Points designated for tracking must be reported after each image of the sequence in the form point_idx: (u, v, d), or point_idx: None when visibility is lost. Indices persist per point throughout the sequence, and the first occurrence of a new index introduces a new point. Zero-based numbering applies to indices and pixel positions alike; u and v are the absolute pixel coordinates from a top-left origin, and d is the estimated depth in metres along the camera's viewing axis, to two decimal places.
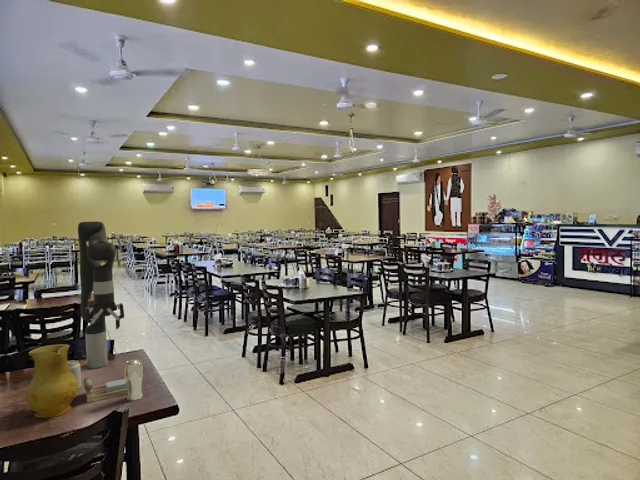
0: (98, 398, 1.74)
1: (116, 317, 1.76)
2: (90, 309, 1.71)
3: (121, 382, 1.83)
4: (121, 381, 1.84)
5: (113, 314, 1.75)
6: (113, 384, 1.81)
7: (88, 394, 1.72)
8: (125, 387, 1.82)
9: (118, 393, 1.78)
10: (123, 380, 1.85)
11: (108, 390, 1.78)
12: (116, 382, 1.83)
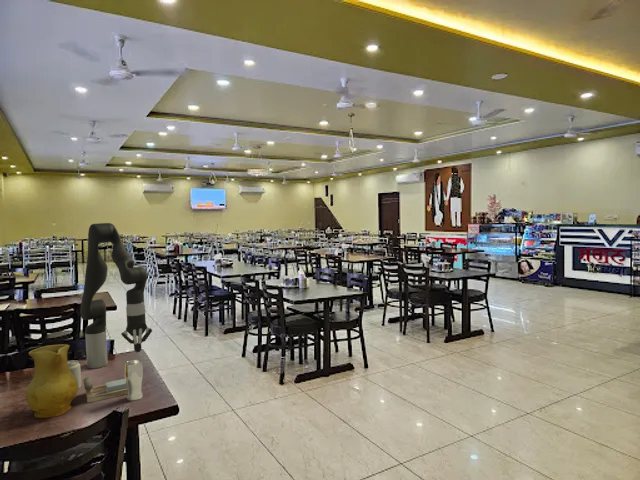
0: (98, 398, 1.74)
1: (139, 340, 1.85)
2: (125, 332, 1.83)
3: (121, 382, 1.83)
4: (121, 381, 1.84)
5: (140, 336, 1.85)
6: (113, 384, 1.81)
7: (88, 394, 1.72)
8: (125, 387, 1.82)
9: (118, 393, 1.78)
10: (123, 380, 1.85)
11: (108, 390, 1.78)
12: (116, 382, 1.83)
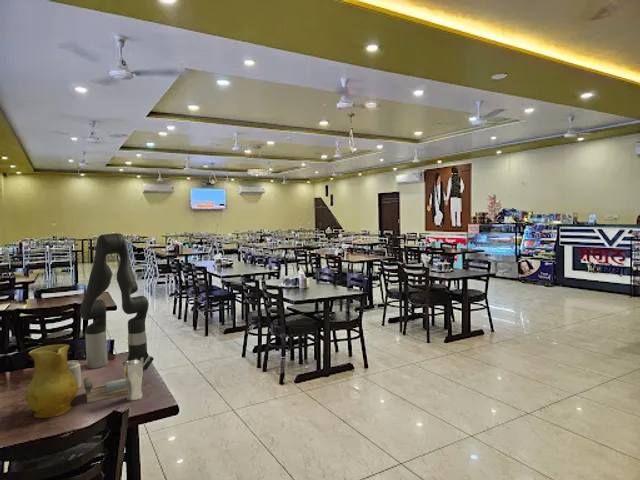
0: (98, 398, 1.74)
1: None
2: None
3: (121, 382, 1.83)
4: (121, 381, 1.84)
5: None
6: (113, 384, 1.81)
7: (88, 394, 1.72)
8: (125, 387, 1.82)
9: (118, 393, 1.78)
10: (123, 380, 1.85)
11: (109, 390, 1.78)
12: (116, 382, 1.83)
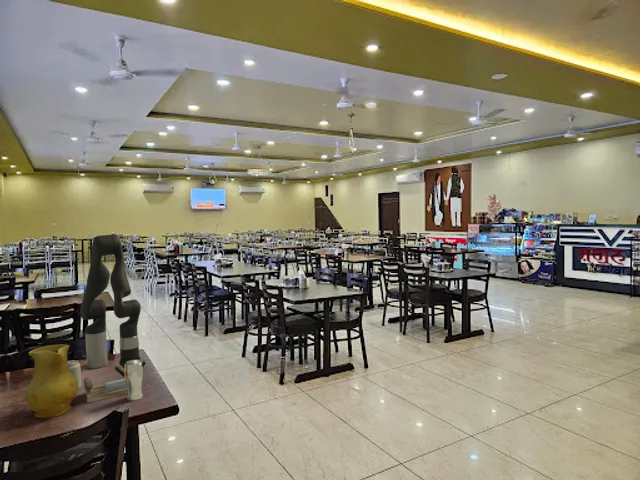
0: (98, 398, 1.74)
1: None
2: (118, 366, 1.82)
3: (120, 382, 1.83)
4: (121, 381, 1.84)
5: None
6: (112, 384, 1.81)
7: (88, 394, 1.72)
8: (125, 387, 1.82)
9: (118, 393, 1.78)
10: (122, 380, 1.85)
11: (108, 390, 1.78)
12: (116, 382, 1.83)
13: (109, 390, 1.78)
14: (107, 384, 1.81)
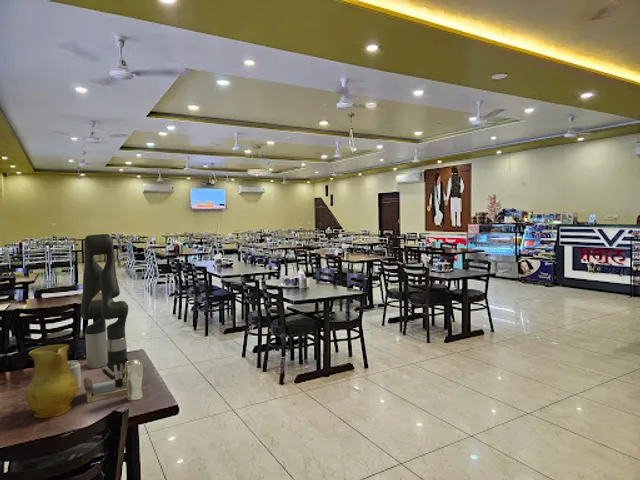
0: (98, 398, 1.74)
1: (121, 375, 1.82)
2: (106, 368, 1.79)
3: (107, 384, 1.81)
4: (109, 383, 1.82)
5: (121, 371, 1.82)
6: (100, 386, 1.79)
7: (88, 394, 1.72)
8: (111, 389, 1.80)
9: (118, 393, 1.78)
10: (111, 382, 1.83)
11: (94, 392, 1.77)
12: (103, 384, 1.81)
13: (95, 392, 1.77)
14: (95, 385, 1.80)
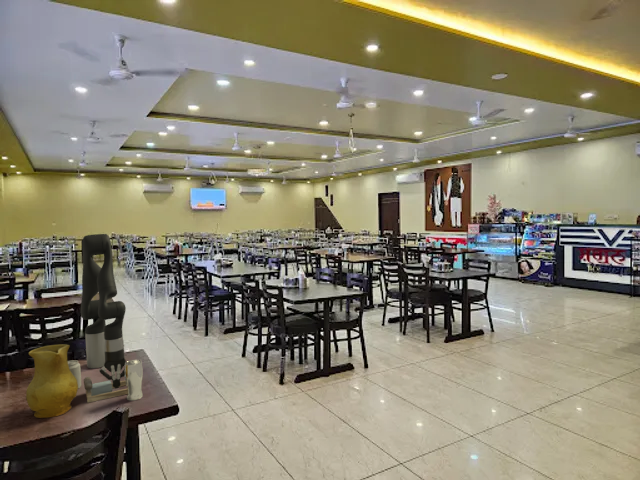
0: (98, 398, 1.74)
1: (118, 376, 1.81)
2: (103, 369, 1.79)
3: (105, 384, 1.81)
4: (106, 383, 1.82)
5: (118, 372, 1.81)
6: (97, 386, 1.79)
7: (88, 394, 1.72)
8: (109, 389, 1.80)
9: (118, 393, 1.78)
10: (107, 382, 1.83)
11: (91, 392, 1.76)
12: (100, 384, 1.81)
13: (93, 392, 1.76)
14: (92, 385, 1.79)
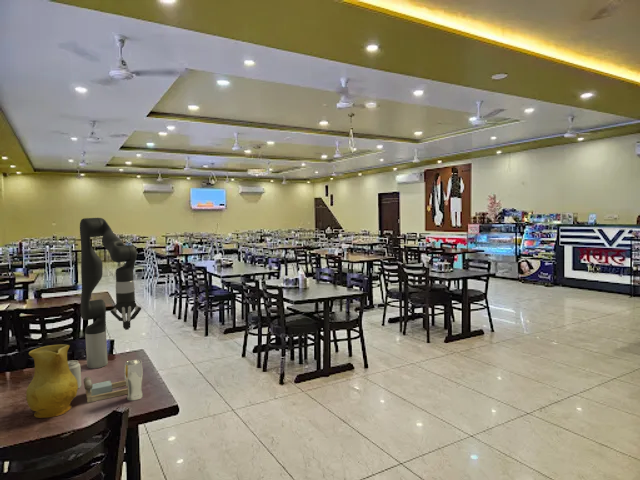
0: (98, 398, 1.74)
1: (128, 317, 1.87)
2: (114, 310, 1.84)
3: (105, 384, 1.81)
4: (106, 383, 1.82)
5: (129, 314, 1.86)
6: (97, 386, 1.79)
7: (88, 394, 1.72)
8: (109, 389, 1.80)
9: (118, 393, 1.78)
10: (107, 382, 1.83)
11: (92, 392, 1.76)
12: (100, 384, 1.81)
13: (93, 392, 1.76)
14: None
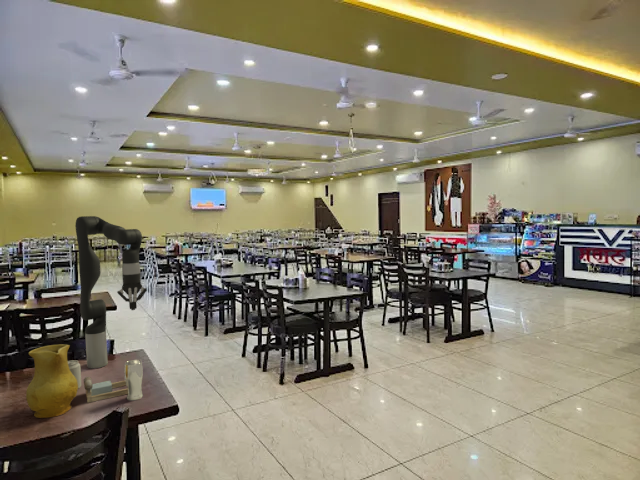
0: (98, 398, 1.74)
1: (134, 298, 1.95)
2: (121, 291, 1.92)
3: (105, 384, 1.81)
4: (106, 383, 1.82)
5: (135, 294, 1.94)
6: (97, 386, 1.79)
7: (88, 394, 1.72)
8: (109, 389, 1.80)
9: (118, 393, 1.78)
10: (107, 382, 1.83)
11: (92, 392, 1.76)
12: (100, 384, 1.81)
13: (93, 392, 1.76)
14: None
